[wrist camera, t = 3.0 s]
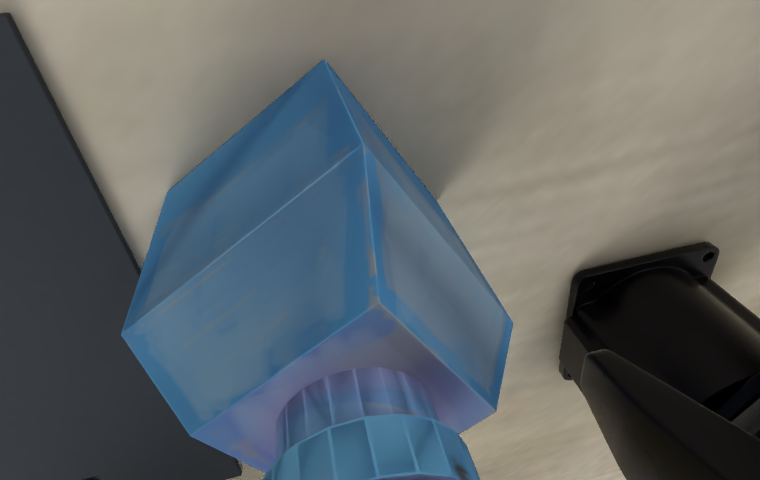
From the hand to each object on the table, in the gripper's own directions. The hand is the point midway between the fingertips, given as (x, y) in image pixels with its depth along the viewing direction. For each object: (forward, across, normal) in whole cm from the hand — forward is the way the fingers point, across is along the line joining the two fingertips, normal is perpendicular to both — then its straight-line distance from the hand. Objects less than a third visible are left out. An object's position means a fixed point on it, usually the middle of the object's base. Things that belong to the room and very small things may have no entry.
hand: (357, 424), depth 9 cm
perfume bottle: (+9, 0, 0) cm, 9 cm away
